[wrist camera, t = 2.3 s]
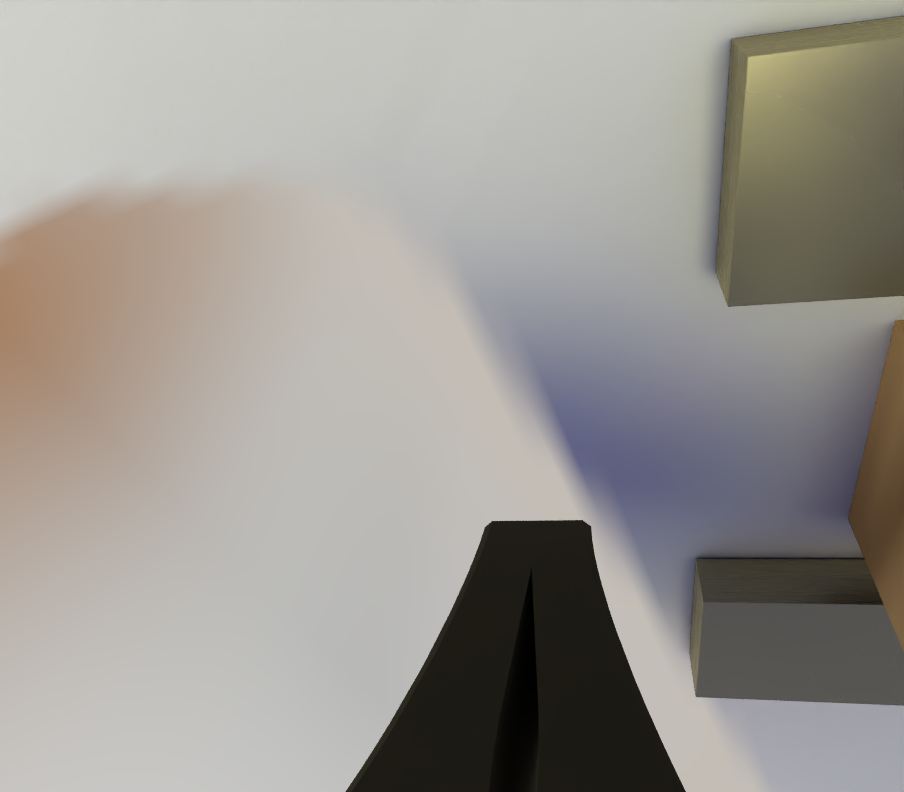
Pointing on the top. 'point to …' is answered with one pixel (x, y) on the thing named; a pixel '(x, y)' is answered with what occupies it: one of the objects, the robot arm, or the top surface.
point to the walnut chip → (885, 487)
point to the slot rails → (803, 280)
